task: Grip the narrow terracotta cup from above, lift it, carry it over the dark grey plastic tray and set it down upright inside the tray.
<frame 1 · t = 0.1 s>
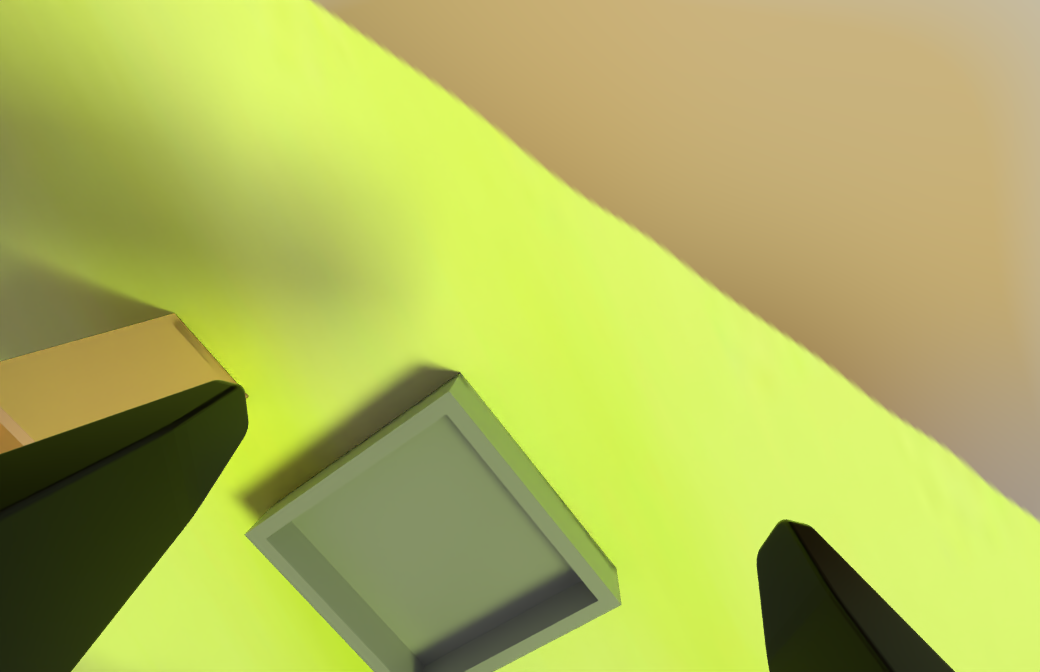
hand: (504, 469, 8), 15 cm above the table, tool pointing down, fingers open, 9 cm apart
tray: (441, 536, 27), on the table
terracotta cup: (177, 384, 26), on the table
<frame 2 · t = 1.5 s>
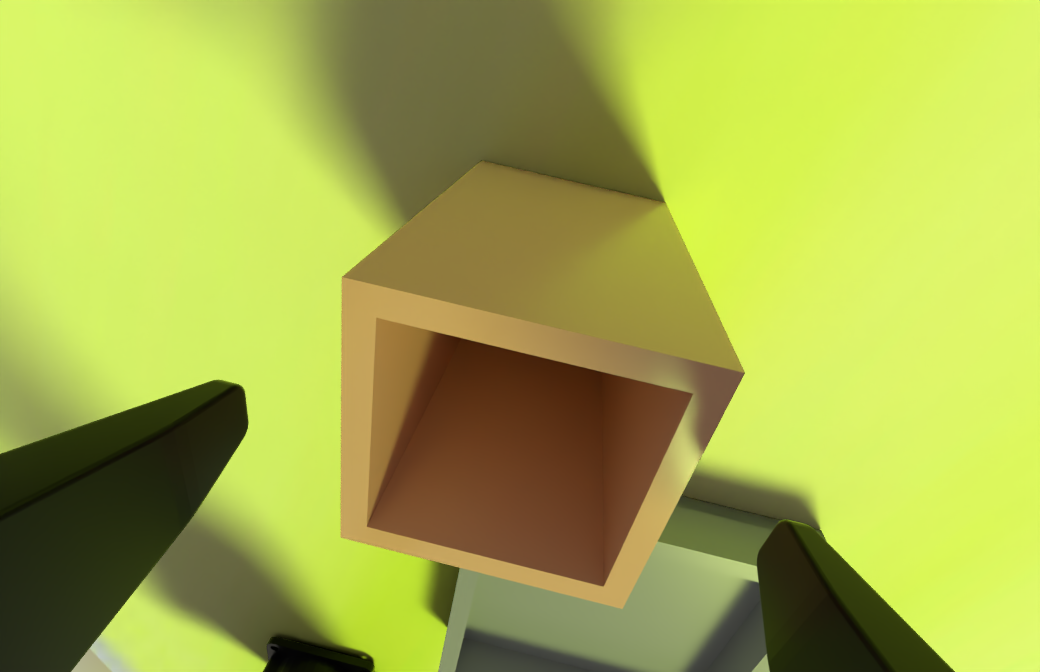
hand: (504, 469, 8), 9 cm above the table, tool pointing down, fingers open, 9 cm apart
tray: (606, 588, 23), on the table
terracotta cup: (552, 267, 16), on the table
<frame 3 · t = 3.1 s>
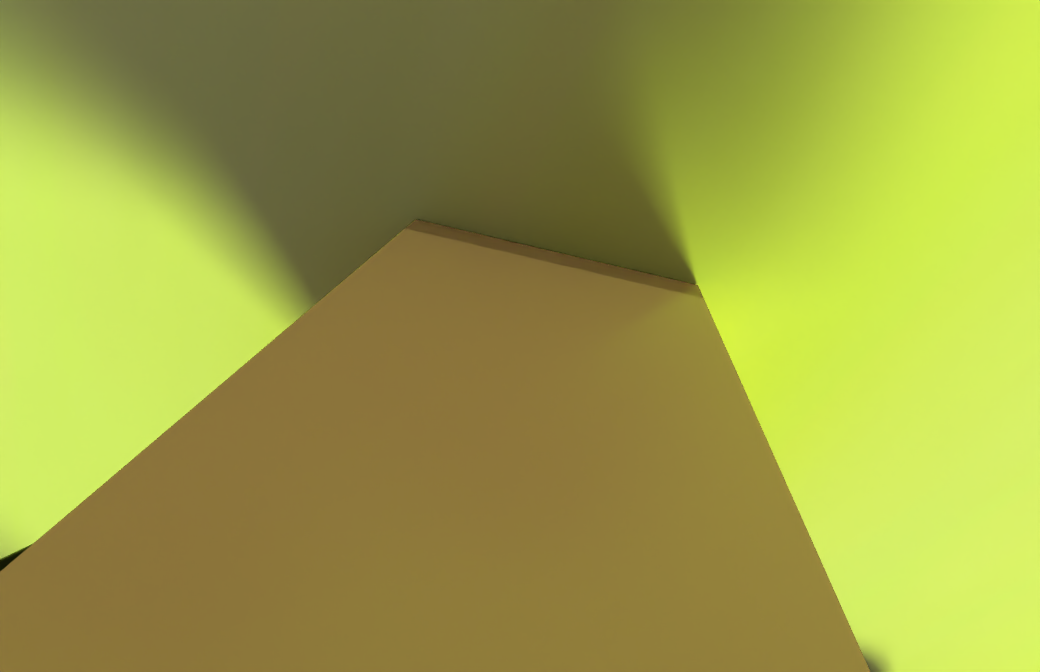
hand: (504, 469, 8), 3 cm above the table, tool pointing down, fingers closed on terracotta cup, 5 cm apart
terracotta cup: (527, 369, 11), on the table, touching gripper
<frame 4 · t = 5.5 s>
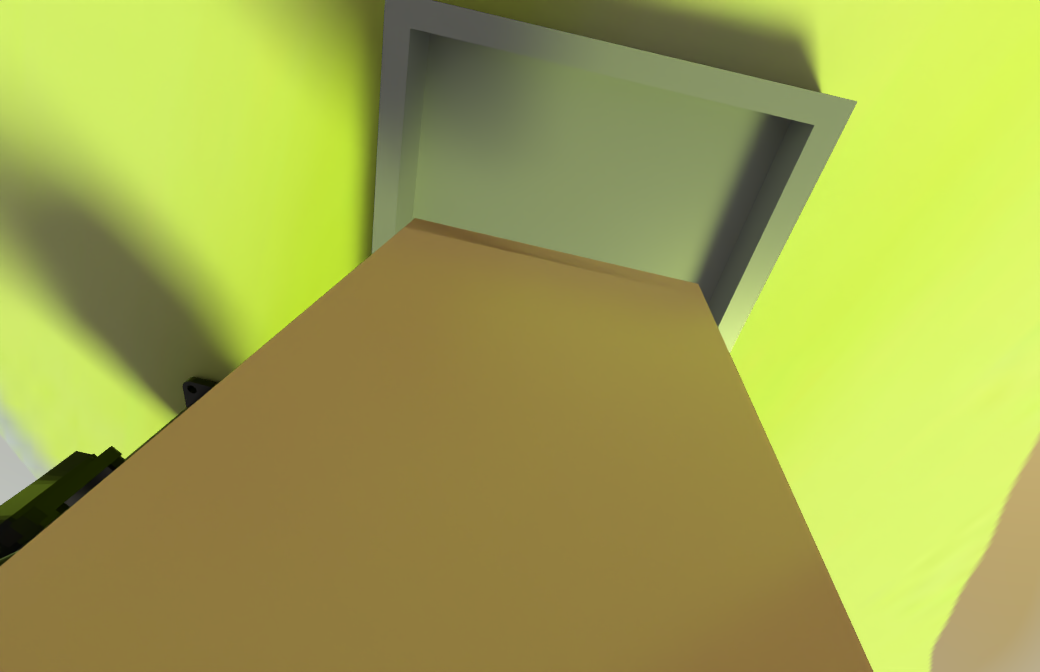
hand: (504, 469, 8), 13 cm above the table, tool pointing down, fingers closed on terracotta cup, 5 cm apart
tray: (564, 242, 19), on the table
terracotta cup: (527, 368, 11), point 10 cm above the table, touching gripper
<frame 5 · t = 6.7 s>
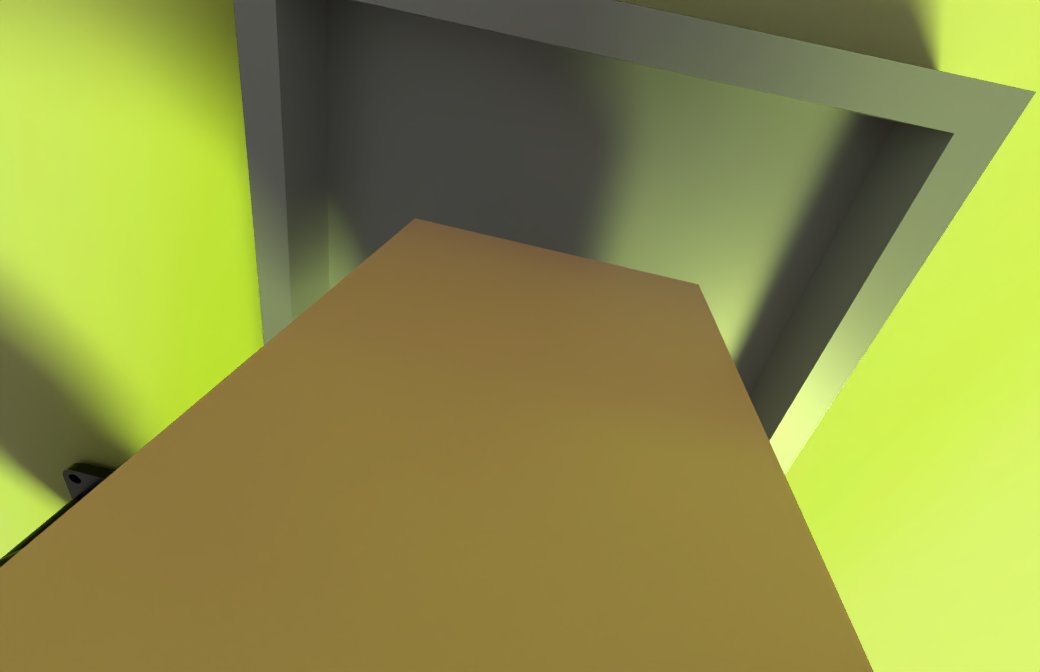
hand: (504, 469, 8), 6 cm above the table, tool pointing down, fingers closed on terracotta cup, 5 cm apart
tray: (546, 301, 14), on the table
terracotta cup: (527, 369, 11), point 3 cm above the table, touching gripper
when the fingers open (5 cm above the table, at t = 7.9 s): terracotta cup drops 1 cm, resting on tray.
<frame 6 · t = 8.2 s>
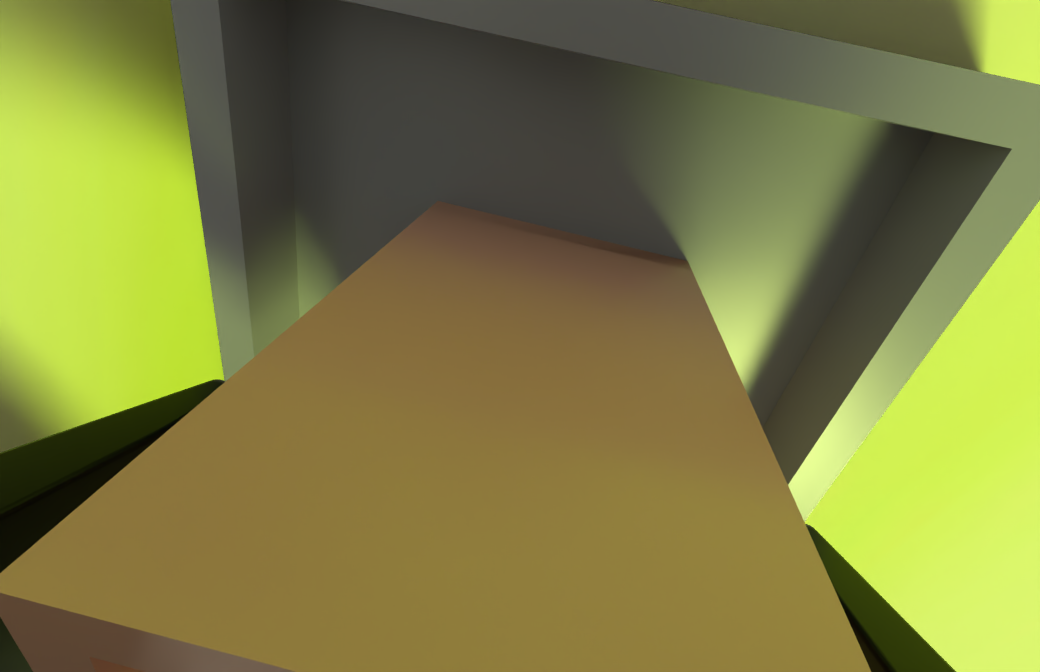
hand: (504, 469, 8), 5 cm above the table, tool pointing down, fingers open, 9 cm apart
tray: (538, 327, 12), on the table
terracotta cup: (534, 338, 12), point 1 cm above the table, touching tray
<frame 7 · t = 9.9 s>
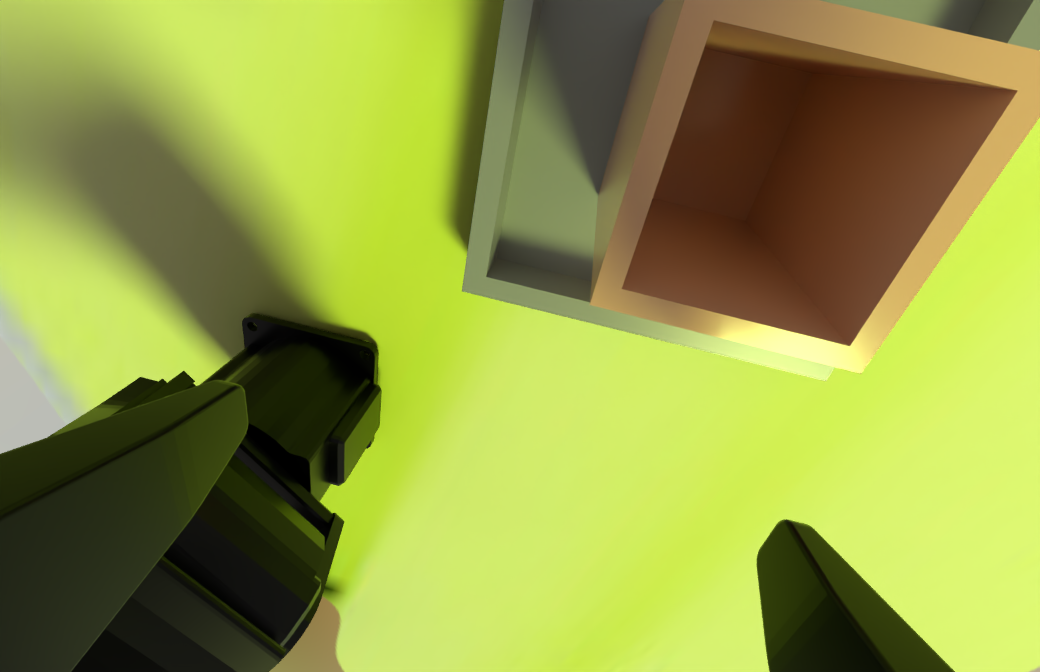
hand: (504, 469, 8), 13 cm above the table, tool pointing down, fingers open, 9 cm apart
tray: (700, 130, 17), on the table
terracotta cup: (703, 133, 16), point 1 cm above the table, touching tray
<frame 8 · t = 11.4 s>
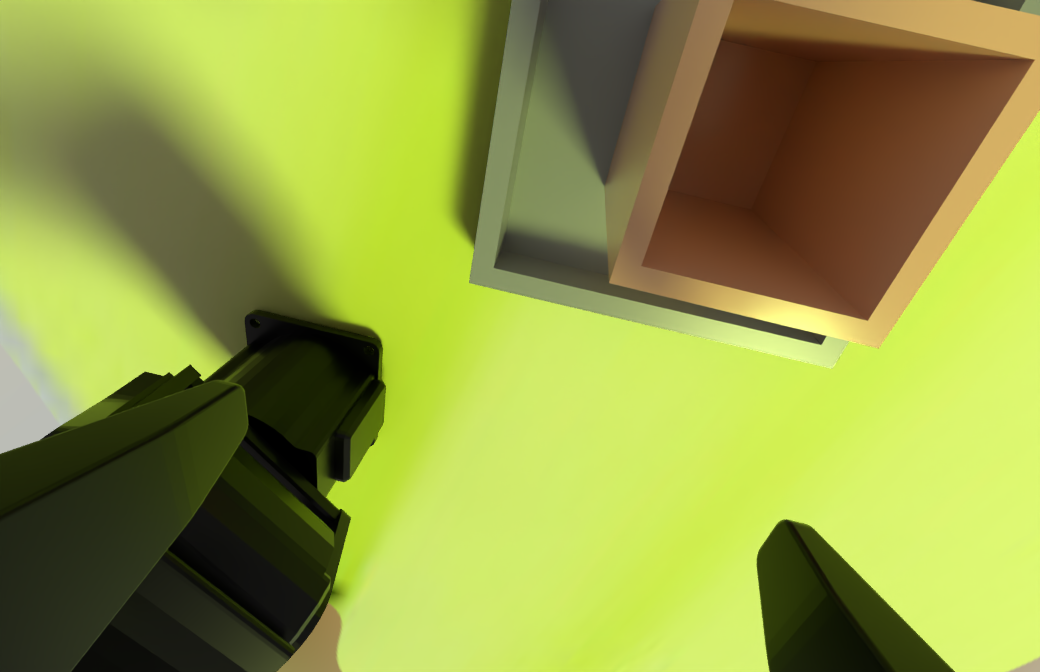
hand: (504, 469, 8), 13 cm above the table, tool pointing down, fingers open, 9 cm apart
tray: (705, 121, 17), on the table
terracotta cup: (708, 122, 16), point 1 cm above the table, touching tray
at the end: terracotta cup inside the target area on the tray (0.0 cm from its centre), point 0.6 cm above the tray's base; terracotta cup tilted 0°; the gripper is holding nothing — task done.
